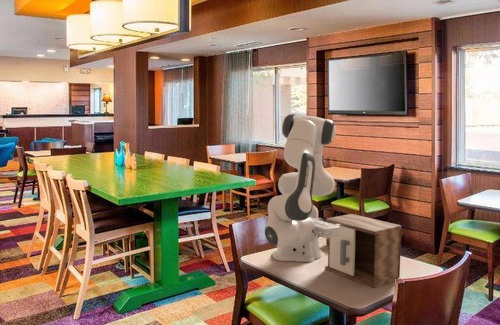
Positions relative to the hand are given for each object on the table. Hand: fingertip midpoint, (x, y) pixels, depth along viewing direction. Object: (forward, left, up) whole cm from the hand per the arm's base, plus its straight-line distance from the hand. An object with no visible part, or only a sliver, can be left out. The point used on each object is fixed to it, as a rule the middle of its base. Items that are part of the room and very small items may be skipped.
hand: (330, 223), depth 185 cm
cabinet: (+16, +9, -24) cm, 30 cm away
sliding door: (+6, +8, -22) cm, 24 cm away
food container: (+16, +47, -24) cm, 55 cm away
